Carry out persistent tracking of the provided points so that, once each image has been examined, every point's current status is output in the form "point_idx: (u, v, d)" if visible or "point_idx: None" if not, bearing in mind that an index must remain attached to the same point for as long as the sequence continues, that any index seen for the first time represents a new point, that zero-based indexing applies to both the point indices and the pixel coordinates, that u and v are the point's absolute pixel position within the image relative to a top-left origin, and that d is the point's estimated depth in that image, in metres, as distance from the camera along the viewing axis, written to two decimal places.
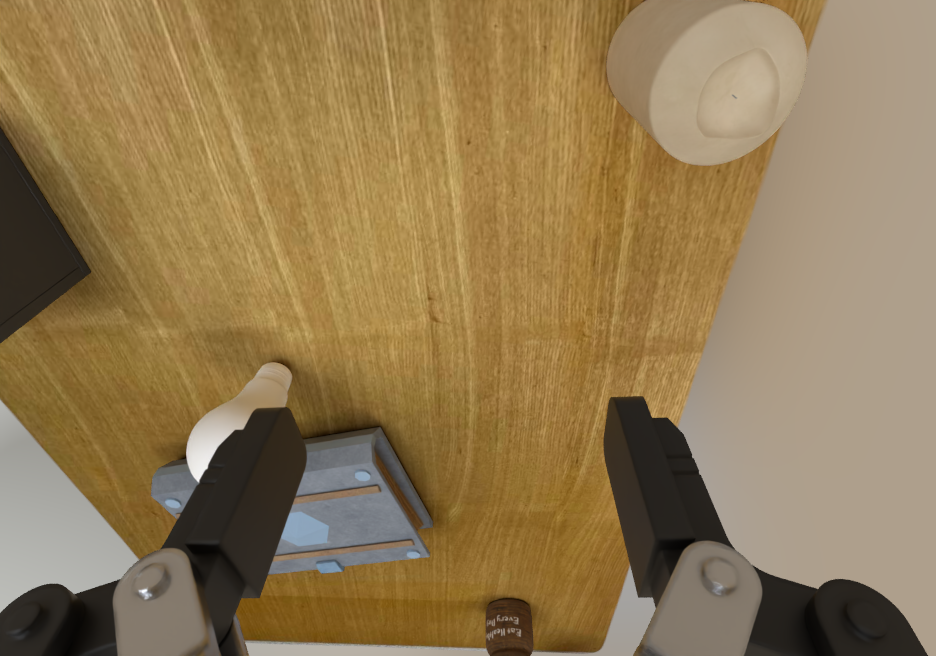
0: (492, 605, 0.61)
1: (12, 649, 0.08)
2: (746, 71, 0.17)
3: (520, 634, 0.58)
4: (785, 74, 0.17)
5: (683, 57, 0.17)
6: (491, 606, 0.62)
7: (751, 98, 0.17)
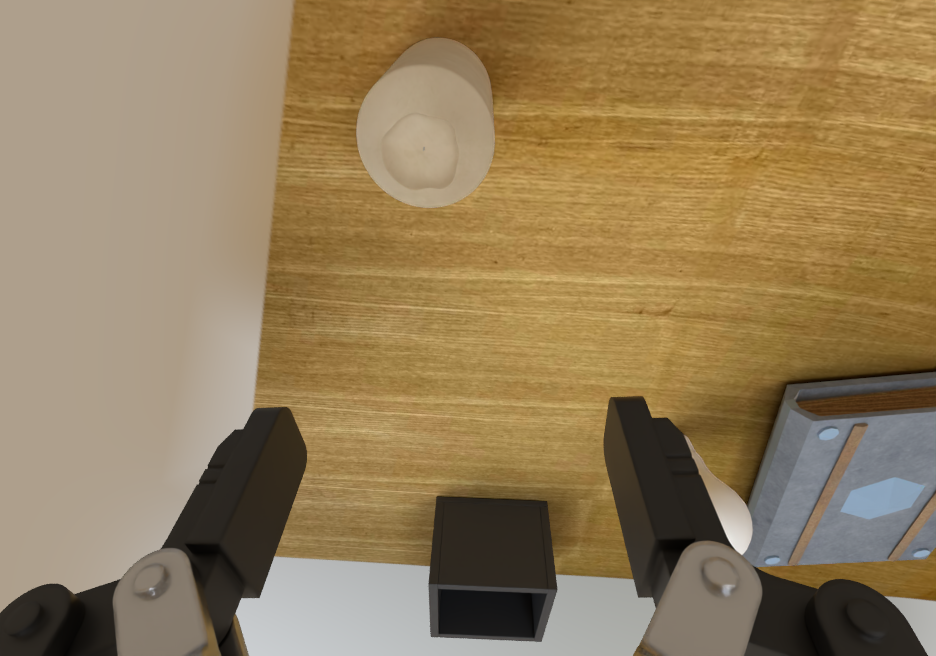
0: None
1: (12, 649, 0.08)
2: (403, 139, 0.18)
3: None
4: (405, 105, 0.18)
5: (393, 192, 0.20)
6: None
7: (427, 129, 0.18)
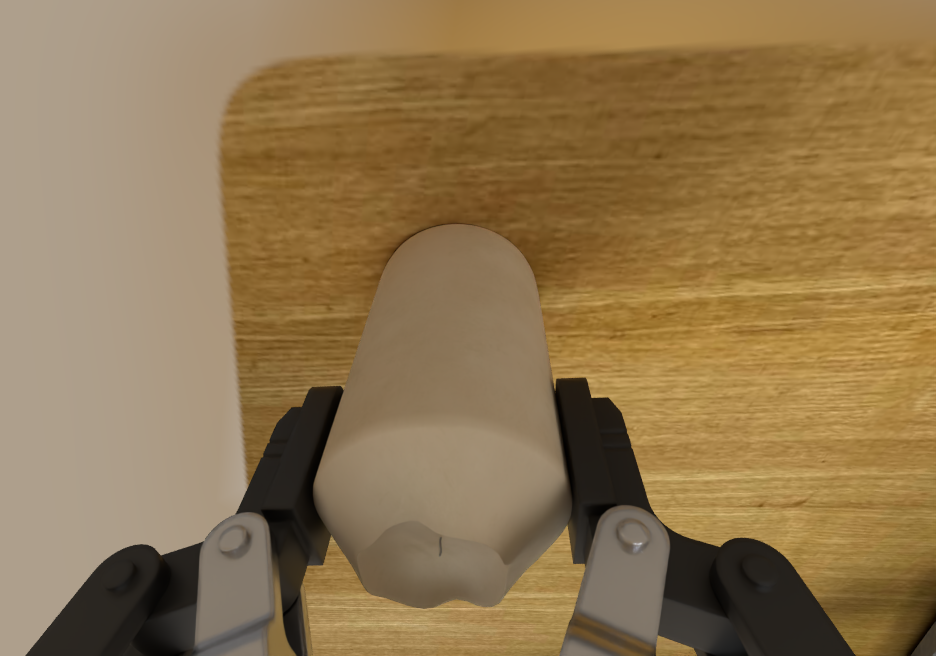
0: None
1: (105, 603, 0.08)
2: (401, 534, 0.10)
3: None
4: (396, 506, 0.09)
5: None
6: None
7: None
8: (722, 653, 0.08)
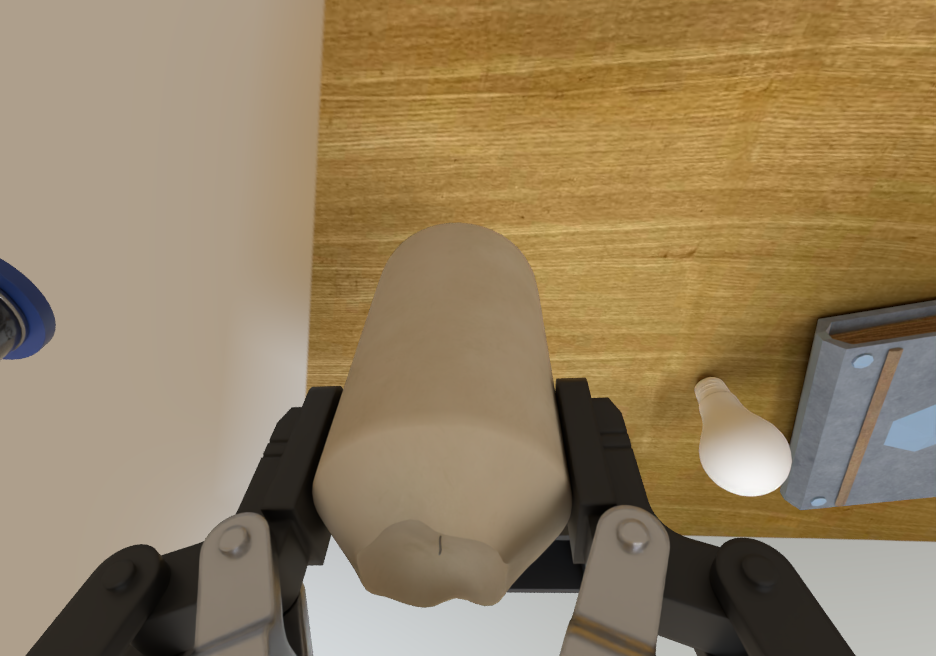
0: None
1: (105, 603, 0.08)
2: (400, 532, 0.10)
3: None
4: (396, 504, 0.09)
5: None
6: None
7: None
8: (722, 653, 0.08)
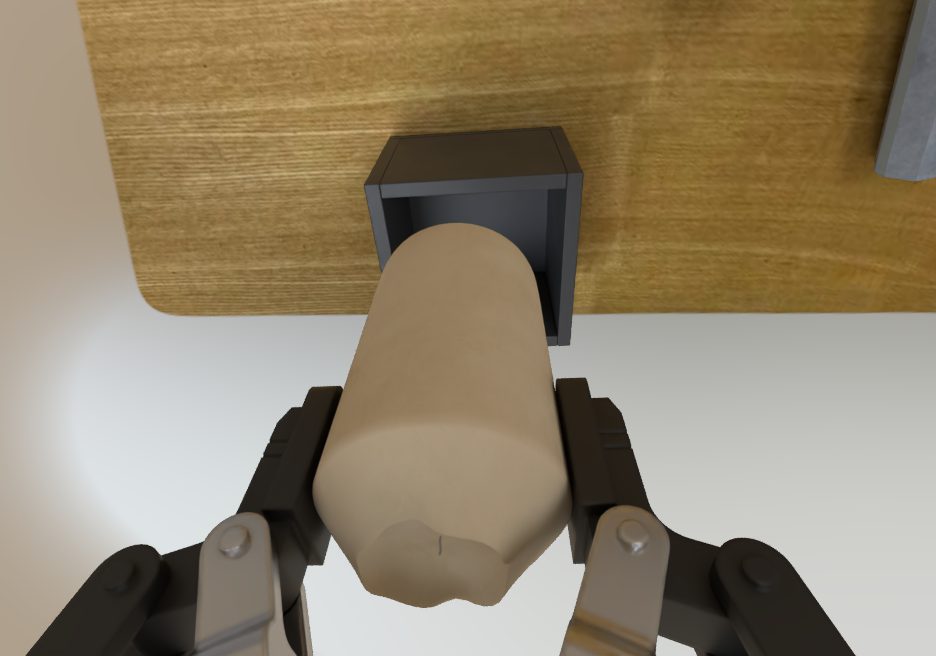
0: None
1: (106, 602, 0.08)
2: (400, 532, 0.10)
3: None
4: (396, 505, 0.09)
5: None
6: None
7: None
8: (722, 653, 0.08)
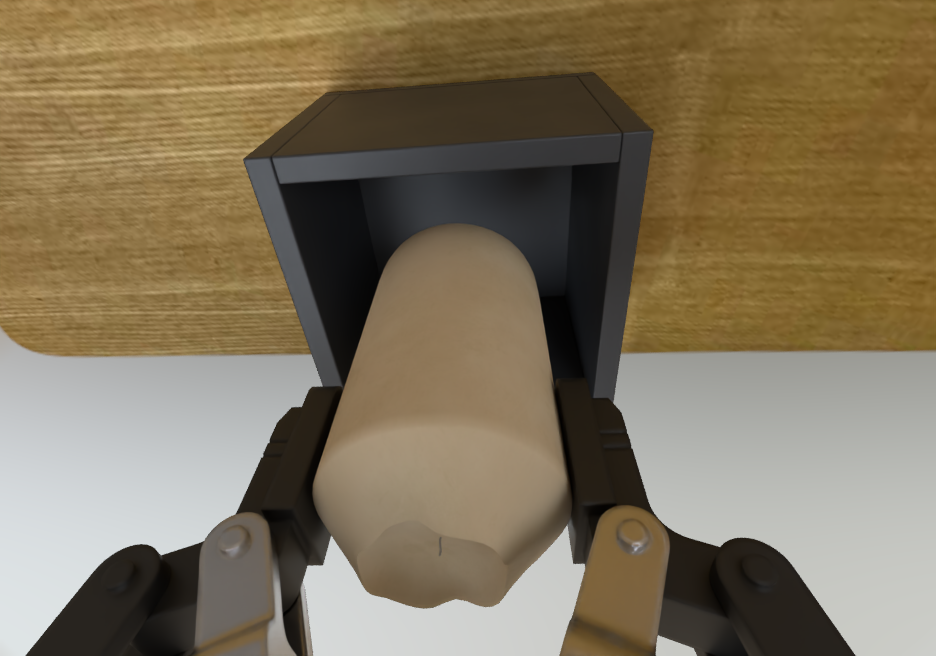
0: None
1: (106, 603, 0.08)
2: (400, 533, 0.10)
3: None
4: (396, 505, 0.09)
5: None
6: None
7: None
8: (722, 653, 0.08)
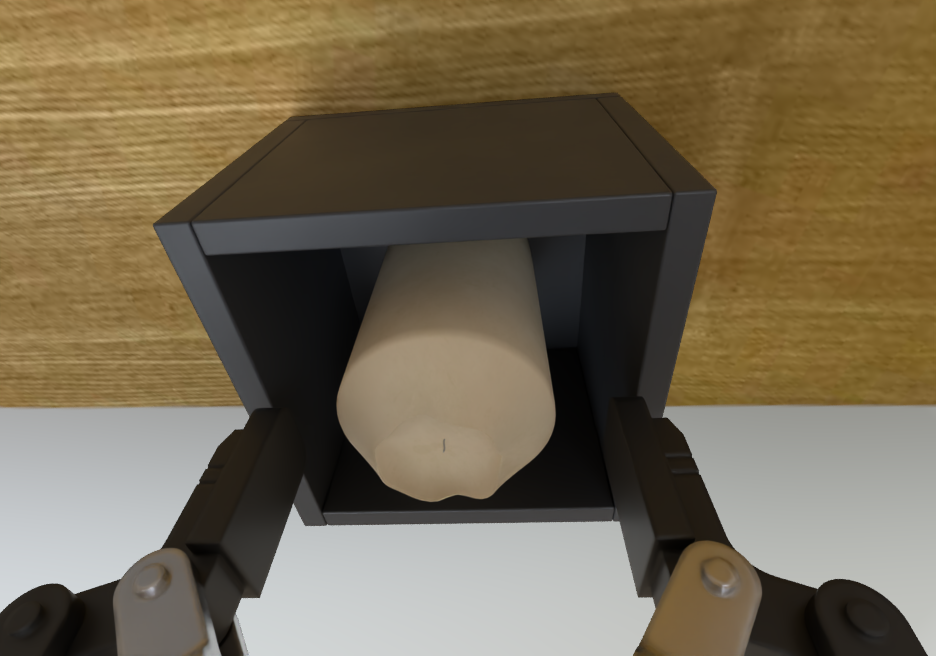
0: None
1: (12, 649, 0.08)
2: (411, 435, 0.12)
3: None
4: (408, 403, 0.11)
5: None
6: None
7: None
8: None
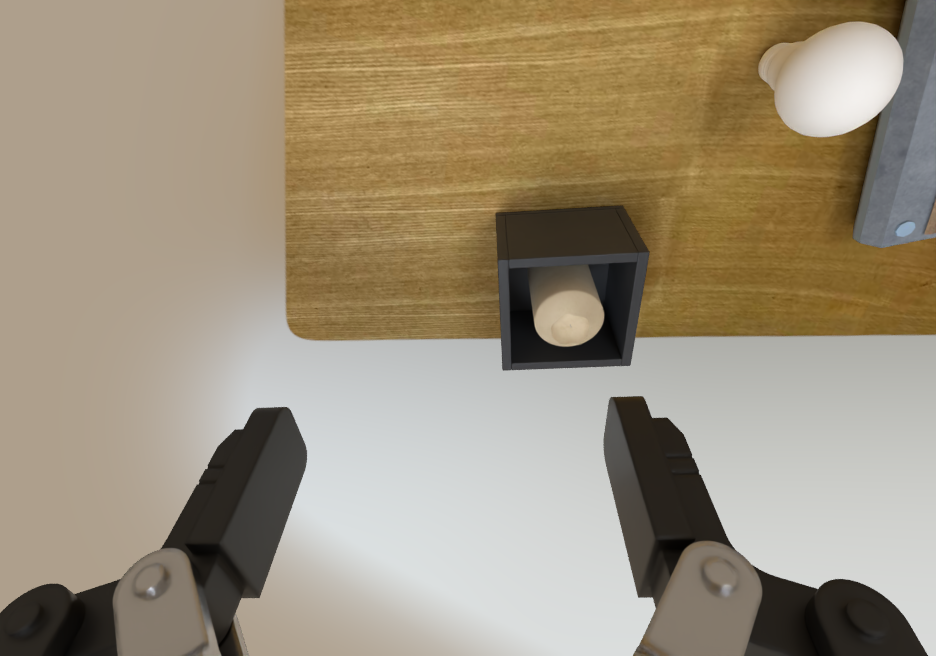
0: None
1: (12, 649, 0.08)
2: (560, 322, 0.38)
3: None
4: (563, 310, 0.37)
5: (552, 342, 0.39)
6: None
7: (572, 317, 0.37)
8: None
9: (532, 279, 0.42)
